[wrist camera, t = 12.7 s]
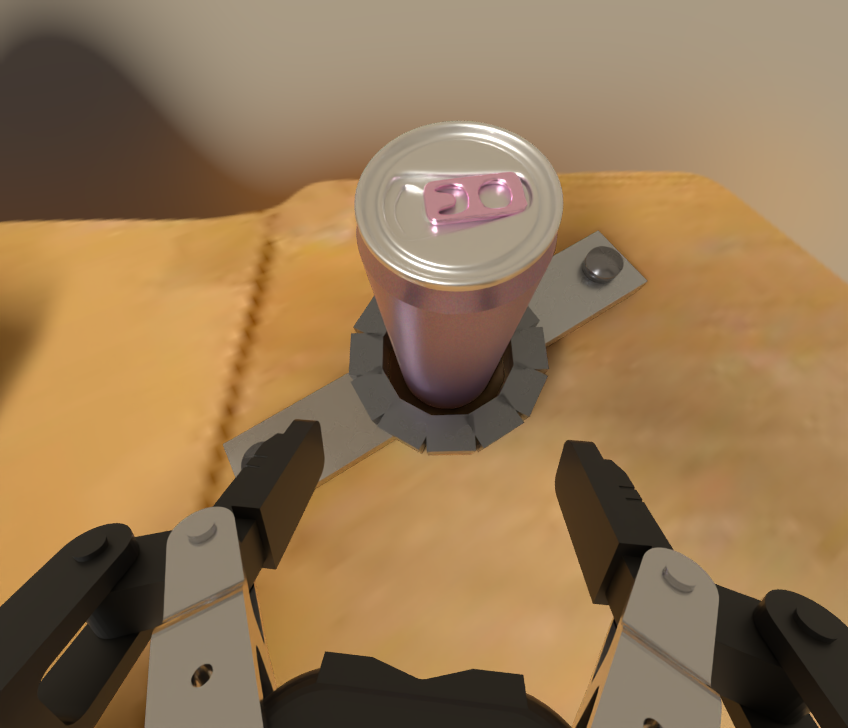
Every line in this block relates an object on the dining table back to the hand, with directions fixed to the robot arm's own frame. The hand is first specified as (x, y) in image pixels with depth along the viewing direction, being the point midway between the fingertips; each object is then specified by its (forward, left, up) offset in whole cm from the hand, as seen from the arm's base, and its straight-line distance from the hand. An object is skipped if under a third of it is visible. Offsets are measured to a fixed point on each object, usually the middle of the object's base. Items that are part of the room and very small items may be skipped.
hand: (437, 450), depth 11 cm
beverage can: (-4, -5, -11) cm, 12 cm away
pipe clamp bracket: (-4, -5, -11) cm, 12 cm away
